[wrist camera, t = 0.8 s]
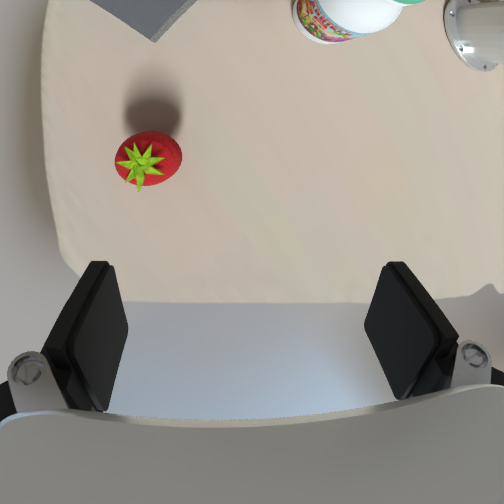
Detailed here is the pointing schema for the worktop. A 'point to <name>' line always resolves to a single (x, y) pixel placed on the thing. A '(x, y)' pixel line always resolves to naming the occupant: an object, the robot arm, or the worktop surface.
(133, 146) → the strawberry
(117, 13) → the plate
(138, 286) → the worktop surface
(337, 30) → the milk bottle
